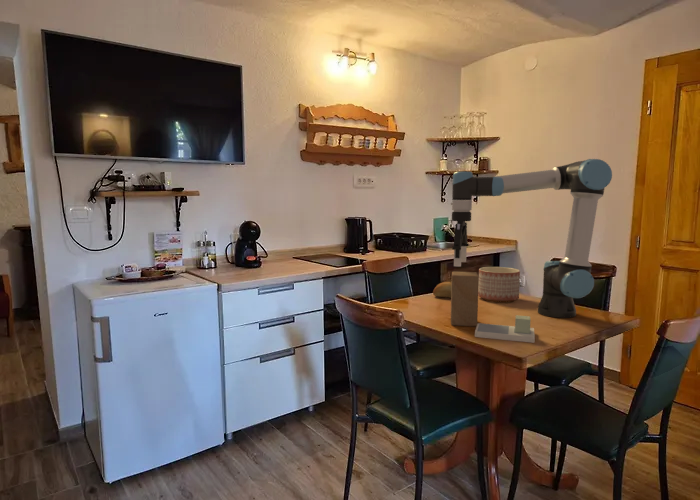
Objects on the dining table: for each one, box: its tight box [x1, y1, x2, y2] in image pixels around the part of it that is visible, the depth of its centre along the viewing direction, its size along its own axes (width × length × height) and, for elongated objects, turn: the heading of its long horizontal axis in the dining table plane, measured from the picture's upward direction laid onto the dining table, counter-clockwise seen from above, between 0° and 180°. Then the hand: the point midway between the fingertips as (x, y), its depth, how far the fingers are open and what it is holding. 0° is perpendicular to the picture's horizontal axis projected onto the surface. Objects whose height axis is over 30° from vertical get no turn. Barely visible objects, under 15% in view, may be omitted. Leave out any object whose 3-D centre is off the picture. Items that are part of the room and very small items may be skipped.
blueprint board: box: [474, 322, 536, 344], centre depth 169 cm, size 20×12×2 cm, turn 70°
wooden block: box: [450, 271, 479, 328], centre depth 185 cm, size 10×10×20 cm
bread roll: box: [432, 281, 452, 298], centre depth 234 cm, size 10×15×8 cm, turn 76°
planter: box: [478, 266, 521, 303], centre depth 229 cm, size 19×19×15 cm
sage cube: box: [514, 314, 532, 334], centre depth 166 cm, size 5×5×5 cm
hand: (460, 264), depth 186 cm, fingers open, 13 cm apart
